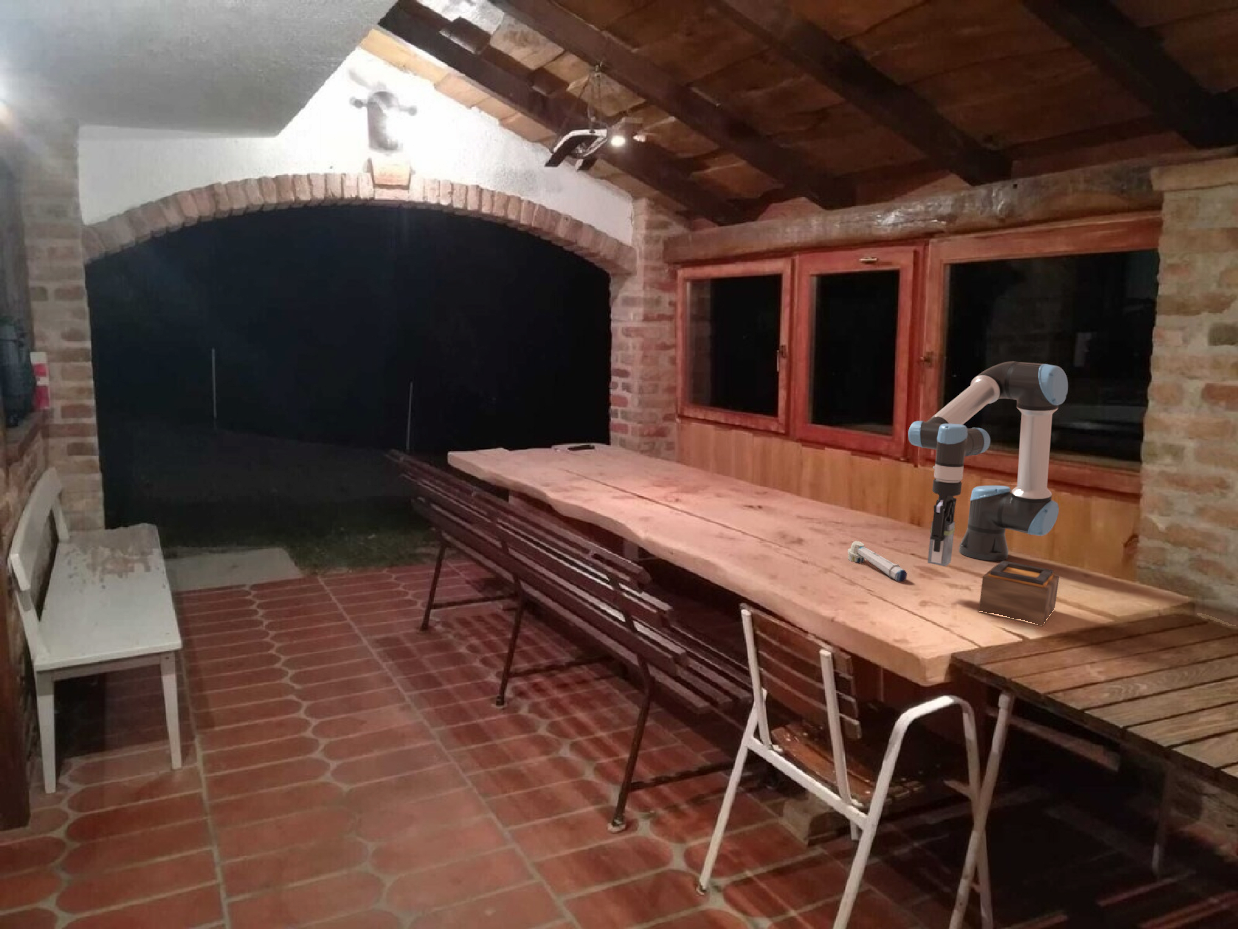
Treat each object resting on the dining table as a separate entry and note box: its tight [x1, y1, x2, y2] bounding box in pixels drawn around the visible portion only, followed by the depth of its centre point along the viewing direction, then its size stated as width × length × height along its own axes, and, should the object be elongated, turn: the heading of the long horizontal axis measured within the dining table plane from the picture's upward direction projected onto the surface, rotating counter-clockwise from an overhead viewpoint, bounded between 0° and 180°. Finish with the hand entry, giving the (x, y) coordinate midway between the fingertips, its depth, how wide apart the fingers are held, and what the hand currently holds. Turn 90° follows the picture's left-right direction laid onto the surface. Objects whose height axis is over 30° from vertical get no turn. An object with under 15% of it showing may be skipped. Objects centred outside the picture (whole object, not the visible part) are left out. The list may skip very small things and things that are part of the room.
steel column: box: [927, 520, 956, 567], centre depth 257 cm, size 5×5×12 cm
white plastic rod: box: [847, 540, 908, 582], centre depth 281 cm, size 5×7×25 cm
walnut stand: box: [978, 560, 1060, 627], centre depth 246 cm, size 16×16×12 cm
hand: (939, 559), depth 258 cm, fingers closed on steel column, 5 cm apart
